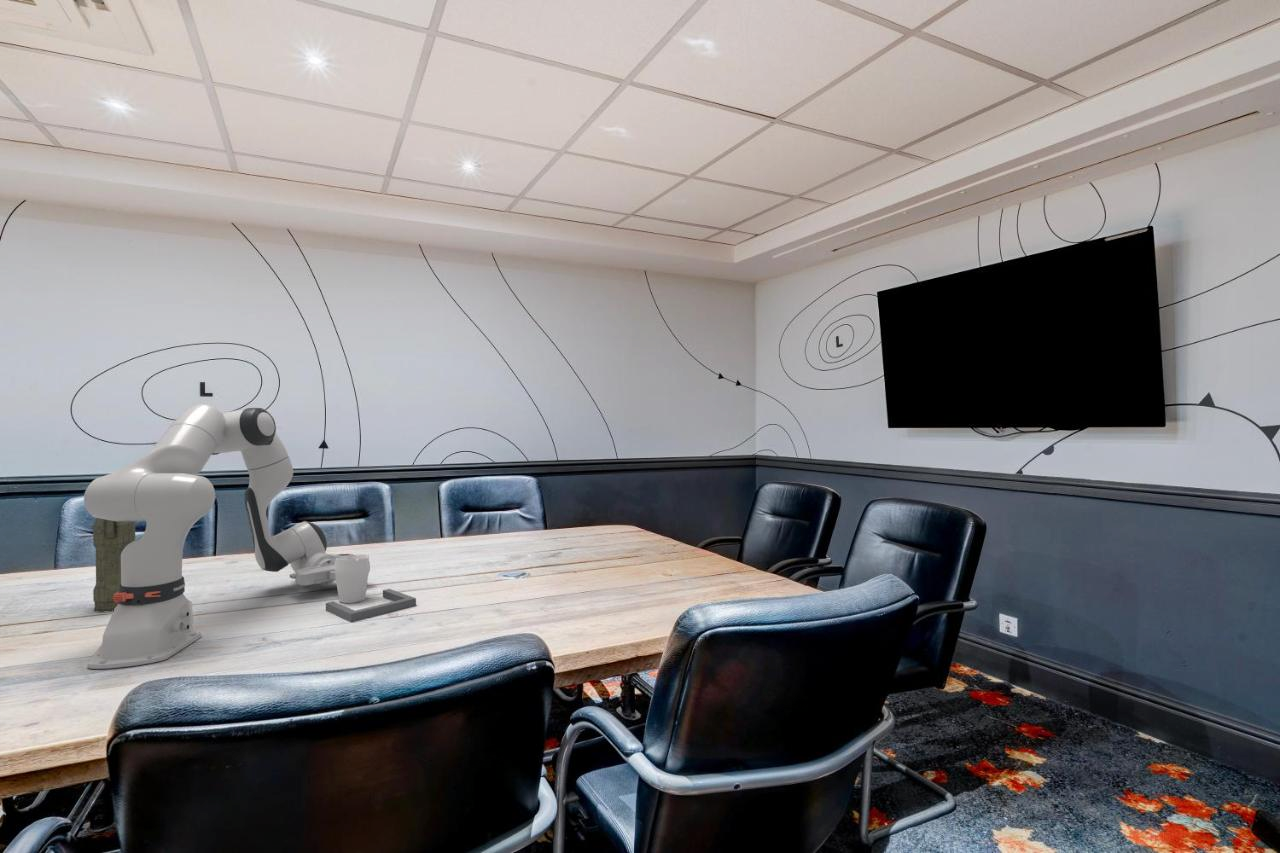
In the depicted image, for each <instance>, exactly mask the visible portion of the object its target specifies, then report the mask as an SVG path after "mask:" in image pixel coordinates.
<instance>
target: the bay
mask: <svg viewBox="0 0 1280 853" xmlns="http://www.w3.org/2000/svg"><path fill="white" fill-rule="evenodd" d="M382 598H384V599H387V600H390V602H386V603H381V604H377V605H373V606H369V607H364V608H360V609H356V610H355V609H352V608H350V607H347V606H346V605H343V604H340V603H338V602H336V601H334V600H333V601H329V602H325V611H326V612H328V613H330V614H332V615H335V616H337V617H339V618H341V619H344V620H346V621H348V622H350V623H352V622H357V621H360V620H364V619H367V618H368V619H369V618H372V617H377V616H379V615H384V614H387V613H392V612H396V611H399V610H404V609H407V608H412V607H416V606H417V598H416V597H413V596H410V595H408V594H406V593H402V592H399V591H397V590H394V589H391V588H388V589H387V588H386V589H382Z"/></svg>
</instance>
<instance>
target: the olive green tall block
mask: <svg viewBox="0 0 1280 853" xmlns="http://www.w3.org/2000/svg"><path fill="white" fill-rule="evenodd" d="M94 519H95V520H94V522H93V524H92V545H93V546H94V549H95V585H94V587H93V589H92V590H93V591H92V592H93V594H92V595H93V599H92V600H93V602H94V610H96V611H110V612H113V611H112V610H114V609H115V608H116V607H117V605H118V603H117V602H114V601H113V600H114V599H113V598H114V594H115V593H117V592H118V589H119V585H120V584H121V553H122V551H123V549H124V548H125V547H126V546H127V545H128V544H129V543H131V542H133V541H134V540H136V521H126V522H117V521H111V520H105V519H100V518H96V517H95V518H94ZM96 611H95V612H96Z"/></svg>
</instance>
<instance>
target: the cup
mask: <svg viewBox="0 0 1280 853" xmlns="http://www.w3.org/2000/svg"><path fill="white" fill-rule="evenodd" d="M369 562H370V556H369V555H368V554H360V553H358V554H353V555H346V556H341V557H338V558H336V559H335V569H334V570H335V577H336V580H335V581H336V588H337V595H338V599H339V602H340V603H342V604H353V603H358V602H361V601H363V600H366V593H367V586H368V580H369V573H370V571H369Z"/></svg>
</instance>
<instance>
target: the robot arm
mask: <svg viewBox="0 0 1280 853" xmlns="http://www.w3.org/2000/svg"><path fill="white" fill-rule="evenodd" d="M276 430H277V425H276V422H275V419H274V417H273V416H272V415H271V413H270V412H268V411H267V410H266V409H265V408H262V407H261V408H260V407H248V408H247V407H246V408H245V409H236V410H232V411H226V412H222V411H221V410H220V409H218V408H217V407H214V406H212V405H209V404H201V403H200V404H195V405H193V406H190V407H188V408H187V409H186V410H185V411H184V412H182V413H181V414H180V415H178V417H177V418H176V419H175V420H174V421H173V422H172V423H171V424H170V426H169V427H168V428H167V430H166V431H165V432H164V433H163V434H162V436H161V437H160V439H159V440H158V441H157V442H156V443H155V444H154V446H153V447H151V449H149V451H147V452H145V453H144V454H143V455H142V456H140V457H139V458H137V459H136V460H134V461H133V462H131V463H129V464H128V465H126V466H124V467H122V468H120V469H119V470H116V471H113V472H111V473H108V474H106V475H104V476H100V477H97V478H95V479H94V480H92V481H91V482H90V483H89V484H88V486H87V487H86V490H85V491H84V493H83V494H84V495H83V503H84V507H85V509H86V512H88V513H89V515H90V516H91V517H93V518H95V519H96V518H100V519H105V520H111V521H117V522H126V521H135V522H146V526H145V530H144V533H143V534H142V536H141V537H138V538H135V540H134V541H133V542H131V543H129V544H128V545H127V546H126V547H125V548H124V549H123V551H122V553H121V584H120V585H119V589H118V592H117V593H115V594H114V598H113V599H114V600H113V601H114V602H117V603H118V605H117V607H116V608H115V609H114V611H112V614H111V616H110V619H109V620H108V623H107V624H106V627H105V629H104V632H103V635H102V641H101V644H100V645H99V647H98V648H97V650H96V651H95V652H94V654H93V655H92V656H91V658H90V660H89V661H88V663H87V667H86V668H87V669H93V670H98V669H99V670H101V669H103V670H105V669H119V668H125V667H135V666H140V665H141V666H142V665H148V664H152V663H157V662H161V661H165V660H168V659H169V658H171V657H173V656H174V655H176V654H177V653H178V652H180V651H182V650H183V649H184V648H186V647H187V646H189V645H191V644H193V643H194V642H196V641H197V640H198V639H200V638H201V637H202V632H201V631H200V630H195V626H194V624H195V623H194V611H193V603H192V601H191V600H189V599H188V598H187V597H186V595H185V594H184V593H185V592H186V591H185V587H186V582H185V577H184V576H183V556H184V555H183V553H184V545H185V543H186V542H185V541H186V539H187V536H188V534H189V532H190V530H191V529H192V527H193V526H194V525H195V524H196V523H197V522H198V521H199V520H200V519H201V518H202V517H205V516H206V515H207V514H208V513H209V512H210V510H211V509H212V508H213V505H214V503H215V500H216V490H215V488H214V485H213V484H212V482H211V480H209V478H207V477H205V476H200V475H198V474H199V473H200V472H201V471H202V470H203V468H204V467H205V466H206V464H207V463H208V462H209V459H210V458H211V456H214V455H216V456H217V455H219V454H224V453H225V454H227V453H232V452H241V456H242V459H243V461H244V464H245V467H246V470H247V472H248V475H249V483H248V487H247V489H246V490H245V491H244V497H243V498H244V503H245V504H244V505H245V510H246V516H247V518H248V519H247V520H248V523H249V529H250V532H251V533H250V534H251V537H252V541H253V542H252V543H253V551H254V557H255V560H256V563H257V565H258V566H259V567H260V569H261V570H262V571H266V572H273V573H276V572H279V571H281V570H283V569H285V568H286V567H287V566H289V565H290V567H291V569H292V570H293V571H294V572H293V573H290V574H289V579H290V578H291V579H294V580H295V581H294V582H295V583H296V584H297V585H298V586H300V587H306V586H312V585H316V584H319V585H327V584H330V583H333V582H335V581H336V577H335V570H334V569H335V559H336V558H338V557H341V556H346V555H354V554H353V553H340V554H339V553H338V554H336V553H327V552H326V551H327V549H328V541H327V538H326V535H325V533H324V531H323V530H322V528H320V526H318V525H317V524H316V523H313V522H311V521H307V520H303V521H302V522H299V523H298V524H296V525H293V526H291V527H289V528H288V529H285V530H283V531H281V532H279V533H277V534H276V535H273V536H272V534H271V531H270V526H269V525H270V524H269V521H268V516H267V509H268V507H269V505H270V504H271V502H272V501H273V500H274V499H275V498H276V497H277V496H278V495H279V494H280V493H281V492H283V491H284V490H285V489H286V488H287V486H288V485H289V484H290V482H291V480H292V479H293V476H294V468H293V464H292V461H291V459H290V456H289V454H288V452H287V450H286V448H285V447H286V446H285V445H284V443H283V442H282V440H281V438H280V437H279V436H278V434H277V433H276ZM370 571H371V563H370V561H369V572H370Z"/></svg>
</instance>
